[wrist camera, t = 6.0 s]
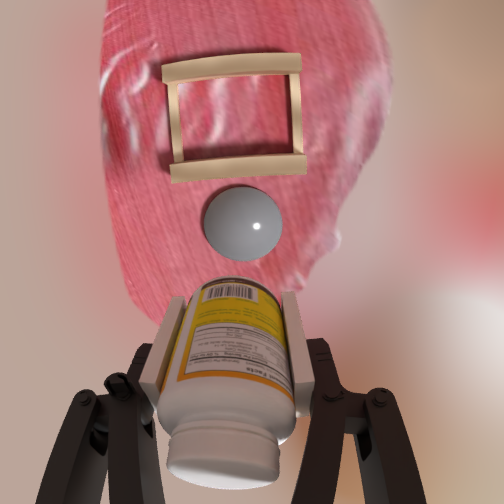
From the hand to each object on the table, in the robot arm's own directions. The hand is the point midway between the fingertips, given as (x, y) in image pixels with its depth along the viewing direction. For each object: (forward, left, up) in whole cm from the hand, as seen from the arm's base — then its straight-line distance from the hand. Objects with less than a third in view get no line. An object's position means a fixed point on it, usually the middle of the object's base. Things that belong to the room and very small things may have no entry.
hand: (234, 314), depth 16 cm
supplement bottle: (0, 0, -1) cm, 1 cm away
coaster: (+1, 0, -18) cm, 18 cm away
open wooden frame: (-12, 0, -18) cm, 21 cm away
